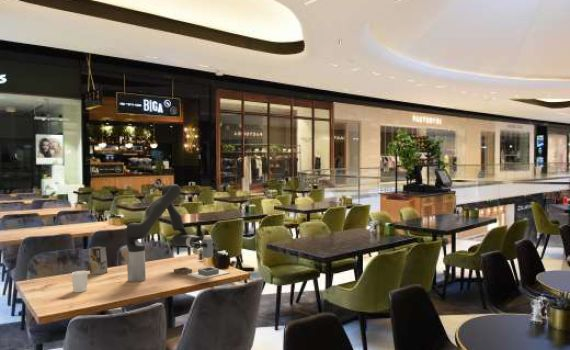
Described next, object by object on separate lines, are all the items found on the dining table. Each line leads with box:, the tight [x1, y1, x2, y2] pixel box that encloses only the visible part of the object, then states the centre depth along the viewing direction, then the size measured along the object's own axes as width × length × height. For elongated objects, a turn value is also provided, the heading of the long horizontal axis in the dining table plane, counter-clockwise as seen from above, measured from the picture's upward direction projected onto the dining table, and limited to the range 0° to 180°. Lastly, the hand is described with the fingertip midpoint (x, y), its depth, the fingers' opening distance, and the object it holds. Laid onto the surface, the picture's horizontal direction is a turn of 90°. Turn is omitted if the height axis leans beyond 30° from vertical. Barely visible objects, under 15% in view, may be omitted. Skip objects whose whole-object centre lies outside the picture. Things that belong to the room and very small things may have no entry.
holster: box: [173, 266, 193, 275], centre depth 290 cm, size 8×8×2 cm
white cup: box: [71, 270, 88, 293], centre depth 253 cm, size 8×8×10 cm
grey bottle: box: [202, 234, 214, 259], centre depth 284 cm, size 4×4×13 cm
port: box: [186, 266, 231, 280], centre depth 284 cm, size 20×16×3 cm
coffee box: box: [88, 246, 108, 275], centre depth 294 cm, size 9×6×16 cm
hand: (210, 245), depth 282 cm, fingers closed on grey bottle, 4 cm apart
